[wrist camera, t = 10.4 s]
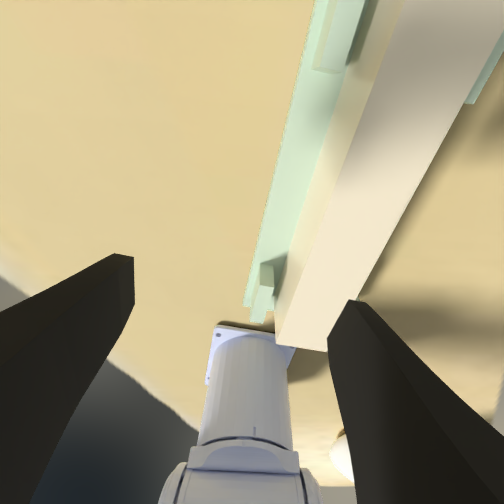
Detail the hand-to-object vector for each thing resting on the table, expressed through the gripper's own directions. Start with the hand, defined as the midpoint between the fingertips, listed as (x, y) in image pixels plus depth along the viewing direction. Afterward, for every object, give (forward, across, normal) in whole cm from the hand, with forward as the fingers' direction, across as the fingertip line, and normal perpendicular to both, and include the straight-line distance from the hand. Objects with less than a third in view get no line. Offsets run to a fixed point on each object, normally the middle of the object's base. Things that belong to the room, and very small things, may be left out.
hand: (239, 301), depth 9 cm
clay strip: (+9, -5, -1) cm, 11 cm away
